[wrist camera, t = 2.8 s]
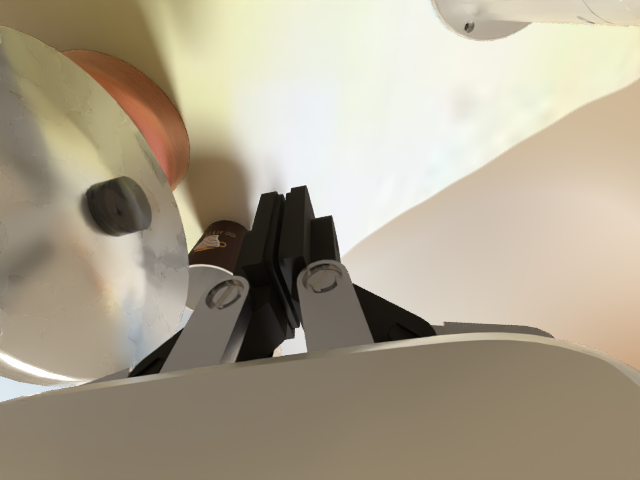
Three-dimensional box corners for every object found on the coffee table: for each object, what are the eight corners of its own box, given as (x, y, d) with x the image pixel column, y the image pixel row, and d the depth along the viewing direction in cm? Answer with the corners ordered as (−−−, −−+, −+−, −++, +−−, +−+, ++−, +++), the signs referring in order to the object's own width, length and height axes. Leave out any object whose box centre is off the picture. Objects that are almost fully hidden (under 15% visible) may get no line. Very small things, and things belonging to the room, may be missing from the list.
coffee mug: (195, 255, 44) (169, 309, 36) (198, 206, 39) (169, 257, 31) (273, 271, 46) (266, 325, 38) (286, 226, 41) (280, 278, 33)
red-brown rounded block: (139, 30, 27) (58, 39, 18) (213, 185, 37) (182, 239, 28) (-11, 71, 29) (-151, 97, 20) (96, 209, 38) (33, 267, 30)
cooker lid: (56, 27, 18) (101, 16, 18) (188, 244, 28) (217, 236, 28) (-603, 32, 4) (-409, -16, 4) (120, 451, 14) (176, 435, 14)
